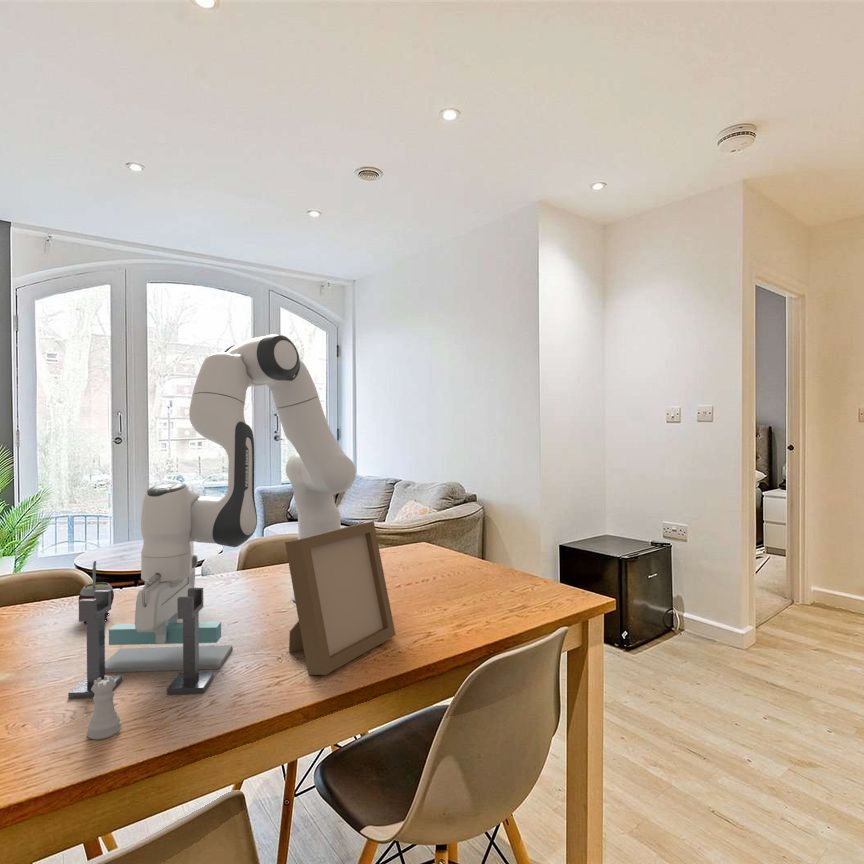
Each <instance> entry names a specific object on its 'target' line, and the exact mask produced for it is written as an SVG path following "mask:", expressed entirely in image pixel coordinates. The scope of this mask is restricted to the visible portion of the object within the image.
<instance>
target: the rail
mask: <svg viewBox="0 0 864 864" xmlns="http://www.w3.org/2000/svg"><path fill="white" fill-rule="evenodd" d="M166 631H167V632H168V640H167V641H166V642H165V643H164V644H163V645H177V644H180V645H181V644H182V645H183V622H177V623H167V625H166ZM221 638H222V621H207V622H206V621H200V622H199V644H217V643H218V642H219V640H220V639H221ZM130 645H131V646H132V645H134V646H135V645H137V646H138V645H158V644H157V643H156V635H155V633H154V632H137V631H136V629H135V622H134V623H115V624H114V625H113V626H112V627H110V628H108V646H130Z"/></svg>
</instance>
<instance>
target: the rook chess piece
mask: <svg viewBox="0 0 864 864" xmlns="http://www.w3.org/2000/svg"><path fill="white" fill-rule="evenodd" d="M108 676H109V675H105V676H104V680H101V677H100V678H98V679H97V680H95V681H94V685H93V686H92V688H91V690H92V691H93V692H94V693H95V695H94V697H93V698H92V700H93V702H94V703H93V712H92V716H91V718H90V720H89V722H88V724H87V726H86V727H87V731H86V736H87V737H88V738H89V739H91V740H94V741H100V740H104V739H108V738H110V737H112V736H114V735H116V734H117V733H118V732H119V730H120V728H121V727H122V725H121V723H120V722H121V717H120V715H119V714H118V713H117V711H116V708H115V704H114V696H115V692H114V689H115V688H116V687H115V685H116V682H115V681H113V677H112V676H110V677H109V679H108ZM114 687H115V688H114ZM113 688H114V689H113Z"/></svg>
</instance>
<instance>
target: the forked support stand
mask: <svg viewBox="0 0 864 864" xmlns="http://www.w3.org/2000/svg"><path fill="white" fill-rule="evenodd" d="M203 608H204V587H194V588H189V589H188V597H179V598H178V599H177V615H178V620H182V623H183V644H182V645H183V646H182V647H183V670H182V671H183V672H179V674H178V675H177V676H176V677H175V678H174V679H173V681H172V682H171V683H170V684H169V686H168V687H167V689H166V695H168V696H172V695H194V694H195V695H196V694H200V695H201V694H204V693H205V691H206V690H207V688H208V687H209V686H210V684H211V682H212V681H213V680H214V678H215V671H208V672H207V671H202V672H201V671H200V669H199V646H200V643H199V619H200V618H199V615H200V613H199V612H200V611H201V610H202V609H203ZM111 610H112V605H111V590H96V591H95V592H94V599H81V600H80V601H79V600H78V622H81V623H82V622H83V623H84V622H86V621H87V624H86V677H85V678H83V679H82V680H81V681H80V682H79V683H78V684H76V685H75V686H74V687H73V688H72V689H71V690H70V691H69V692H68V694H67V695H68V697H67V699H93V697H94V695H95V693H94V692H93V691H92V690H91V688H92V686H93V685H94V681H95V680H97V679H98V678H100V677H101V680H104V676H106V673H105V661H106V644H105V643H106V639H105V637H106V633H105V632H106V631H105V630H106V629H105V627H106V625H105V622H106V621H105V613H106V612H108V613H109V611H111ZM107 676H108V679H109V677H110V676H112V677H113V681H115V682H116V685H115V687H114V688H113V690H114V689H115V688H117V687H118V685H120V683H122V682H123V675H122V674H114V675H113V674H112V675H107Z"/></svg>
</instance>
